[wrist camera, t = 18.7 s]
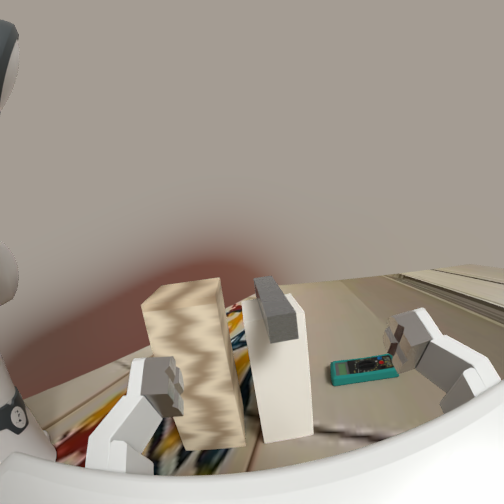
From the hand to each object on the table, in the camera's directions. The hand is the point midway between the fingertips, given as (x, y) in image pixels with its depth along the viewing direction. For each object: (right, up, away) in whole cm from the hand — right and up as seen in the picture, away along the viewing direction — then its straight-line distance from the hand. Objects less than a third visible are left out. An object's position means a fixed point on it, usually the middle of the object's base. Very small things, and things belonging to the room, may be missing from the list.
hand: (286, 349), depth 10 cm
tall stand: (-7, -28, +35) cm, 46 cm away
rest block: (+4, -26, +35) cm, 44 cm away
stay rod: (+2, -5, +29) cm, 30 cm away
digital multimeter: (+23, -23, +46) cm, 56 cm away
